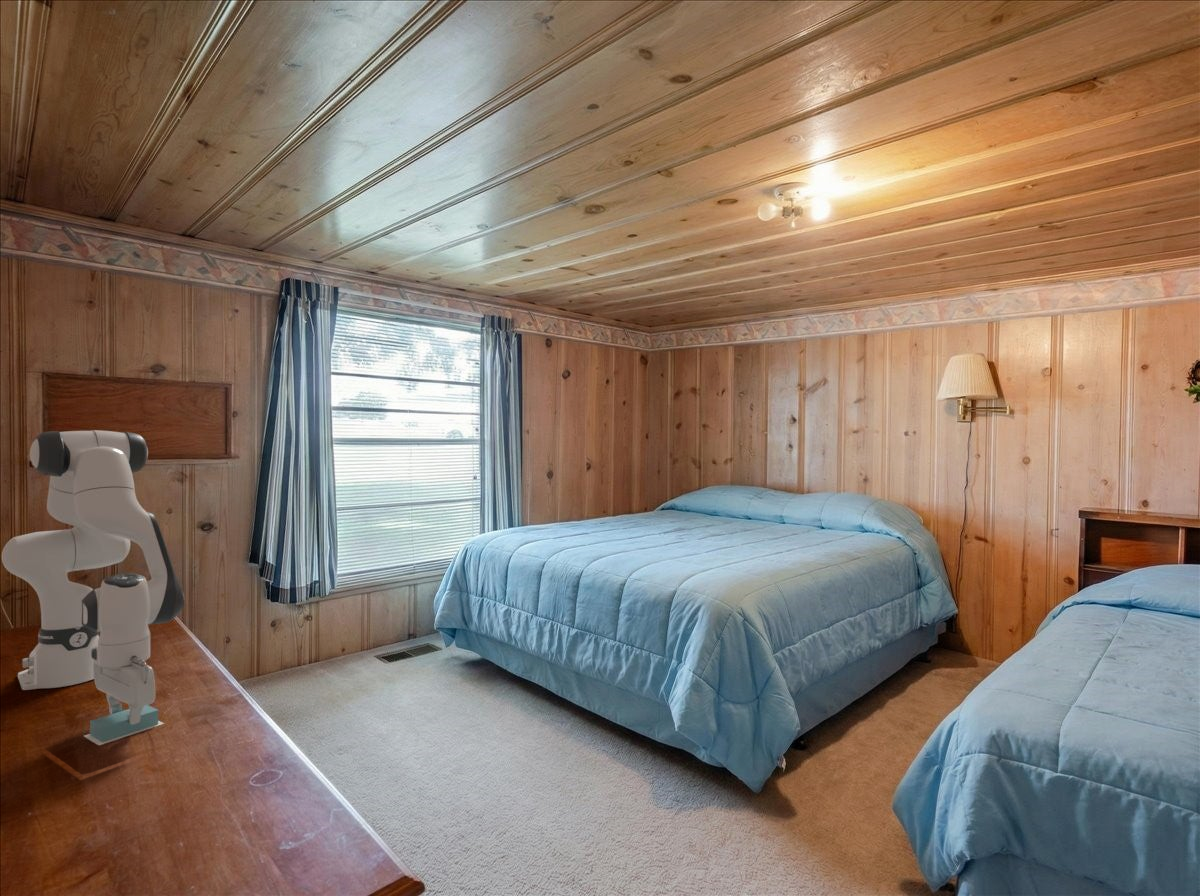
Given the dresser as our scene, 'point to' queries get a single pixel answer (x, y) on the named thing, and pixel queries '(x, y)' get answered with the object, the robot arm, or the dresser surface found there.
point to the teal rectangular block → (121, 724)
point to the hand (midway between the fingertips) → (124, 718)
